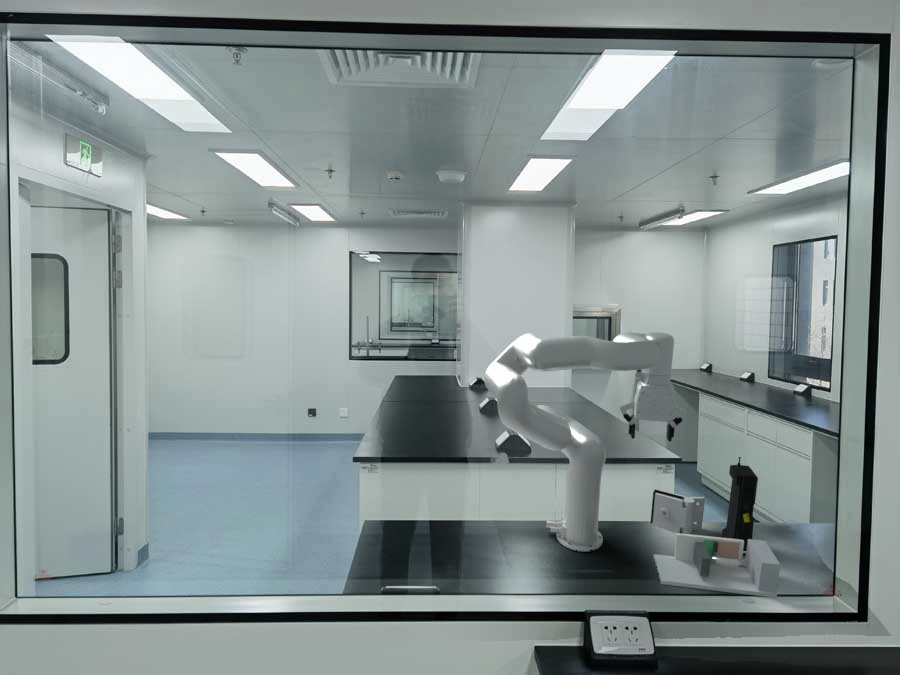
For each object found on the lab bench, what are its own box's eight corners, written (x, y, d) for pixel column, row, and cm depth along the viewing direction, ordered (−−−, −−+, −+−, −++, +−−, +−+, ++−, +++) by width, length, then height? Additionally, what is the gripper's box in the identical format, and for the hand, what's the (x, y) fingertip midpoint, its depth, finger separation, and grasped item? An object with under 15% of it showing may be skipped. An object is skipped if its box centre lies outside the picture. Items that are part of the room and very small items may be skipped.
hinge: (701, 528, 160) (705, 496, 158) (702, 538, 155) (706, 505, 153) (650, 518, 165) (653, 488, 163) (650, 528, 160) (653, 496, 158)
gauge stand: (661, 584, 135) (664, 553, 133) (653, 557, 146) (656, 528, 144) (776, 597, 130) (781, 565, 129) (760, 569, 141) (764, 539, 139)
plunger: (700, 576, 135) (702, 556, 134) (693, 558, 142) (695, 539, 141) (748, 582, 133) (751, 561, 132) (739, 563, 140) (741, 544, 139)
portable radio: (753, 557, 146) (765, 470, 141) (728, 555, 147) (739, 468, 142) (744, 541, 153) (755, 457, 148) (720, 538, 155) (730, 455, 149)
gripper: (623, 380, 147) (619, 440, 150) (692, 384, 144) (686, 446, 147) (620, 373, 154) (616, 430, 158) (686, 376, 151) (680, 435, 154)
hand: (650, 438), depth 152 cm, fingers open, 9 cm apart
